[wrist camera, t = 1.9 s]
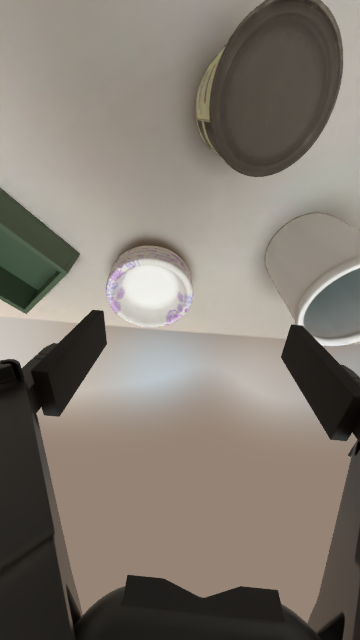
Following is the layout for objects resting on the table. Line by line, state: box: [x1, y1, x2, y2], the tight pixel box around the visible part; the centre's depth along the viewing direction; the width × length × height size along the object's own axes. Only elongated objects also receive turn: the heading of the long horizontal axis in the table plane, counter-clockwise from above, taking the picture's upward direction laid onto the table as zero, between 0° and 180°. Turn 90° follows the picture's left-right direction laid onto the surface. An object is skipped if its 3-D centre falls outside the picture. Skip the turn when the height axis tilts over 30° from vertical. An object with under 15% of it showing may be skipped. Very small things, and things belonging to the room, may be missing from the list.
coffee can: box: [196, 0, 343, 177], centre depth 23 cm, size 10×10×14 cm
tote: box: [0, 188, 80, 314], centre depth 37 cm, size 15×14×7 cm
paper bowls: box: [106, 246, 193, 328], centre depth 41 cm, size 15×15×8 cm
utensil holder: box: [265, 213, 360, 346], centre depth 35 cm, size 15×15×18 cm
